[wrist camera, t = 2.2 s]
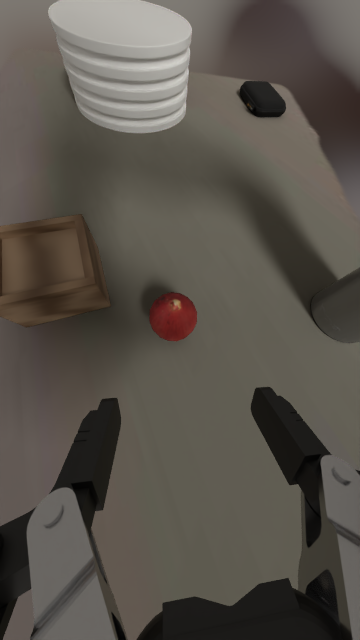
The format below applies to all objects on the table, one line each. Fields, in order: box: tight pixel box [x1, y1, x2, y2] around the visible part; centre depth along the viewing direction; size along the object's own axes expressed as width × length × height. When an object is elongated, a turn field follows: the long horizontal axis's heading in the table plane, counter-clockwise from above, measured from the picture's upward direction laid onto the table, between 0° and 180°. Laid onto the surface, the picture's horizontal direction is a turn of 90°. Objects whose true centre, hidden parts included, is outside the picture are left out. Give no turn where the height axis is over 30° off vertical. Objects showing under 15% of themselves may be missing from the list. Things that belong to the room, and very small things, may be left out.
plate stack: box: [48, 0, 192, 133], centre depth 40 cm, size 28×28×12 cm
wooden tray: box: [0, 214, 111, 327], centre depth 23 cm, size 11×11×6 cm
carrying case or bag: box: [240, 81, 286, 117], centre depth 50 cm, size 11×3×15 cm
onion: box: [150, 292, 197, 341], centre depth 21 cm, size 6×6×8 cm
